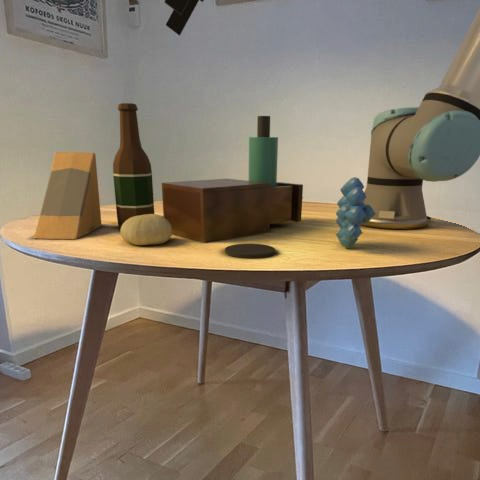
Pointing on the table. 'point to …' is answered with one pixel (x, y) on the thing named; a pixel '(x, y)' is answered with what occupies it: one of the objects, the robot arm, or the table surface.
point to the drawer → (286, 202)
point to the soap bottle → (263, 154)
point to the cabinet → (216, 208)
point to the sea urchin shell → (146, 230)
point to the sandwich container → (70, 198)
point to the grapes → (352, 212)
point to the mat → (250, 250)
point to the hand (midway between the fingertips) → (172, 20)
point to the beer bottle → (131, 170)
